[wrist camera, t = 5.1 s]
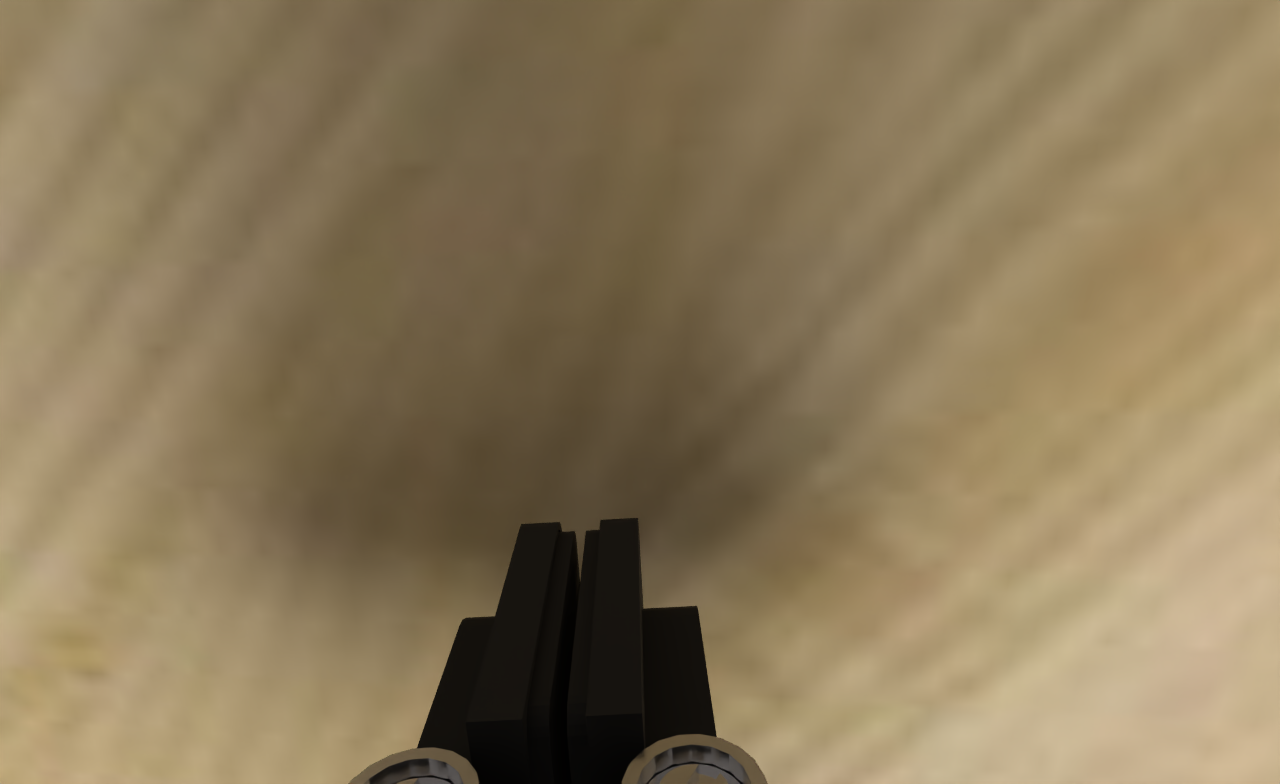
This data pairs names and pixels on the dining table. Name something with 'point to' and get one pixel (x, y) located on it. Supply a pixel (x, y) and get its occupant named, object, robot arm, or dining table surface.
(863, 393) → the dining table surface
